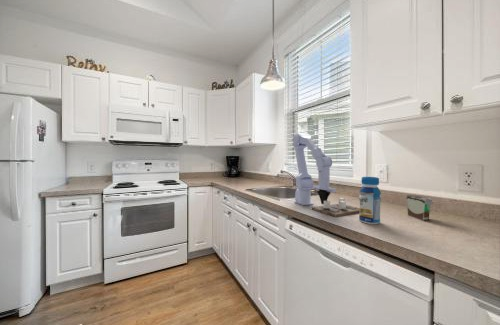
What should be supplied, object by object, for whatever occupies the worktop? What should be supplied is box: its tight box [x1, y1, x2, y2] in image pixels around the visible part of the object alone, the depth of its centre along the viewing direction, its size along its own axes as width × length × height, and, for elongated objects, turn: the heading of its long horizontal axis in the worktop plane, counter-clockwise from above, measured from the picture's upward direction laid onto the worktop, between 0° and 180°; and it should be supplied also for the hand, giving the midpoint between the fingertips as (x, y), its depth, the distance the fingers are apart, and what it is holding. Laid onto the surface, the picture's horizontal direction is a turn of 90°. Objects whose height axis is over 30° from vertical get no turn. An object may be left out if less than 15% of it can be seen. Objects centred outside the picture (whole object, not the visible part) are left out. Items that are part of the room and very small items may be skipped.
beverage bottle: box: [358, 176, 382, 225], centre depth 92 cm, size 8×8×20 cm
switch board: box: [311, 203, 360, 218], centre depth 111 cm, size 16×22×2 cm
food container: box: [405, 194, 434, 222], centre depth 98 cm, size 12×6×10 cm, turn 179°
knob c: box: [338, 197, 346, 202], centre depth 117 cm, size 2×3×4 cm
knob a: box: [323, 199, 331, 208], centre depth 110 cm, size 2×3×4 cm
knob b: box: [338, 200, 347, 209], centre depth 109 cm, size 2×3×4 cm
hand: (323, 204), depth 112 cm, fingers closed
